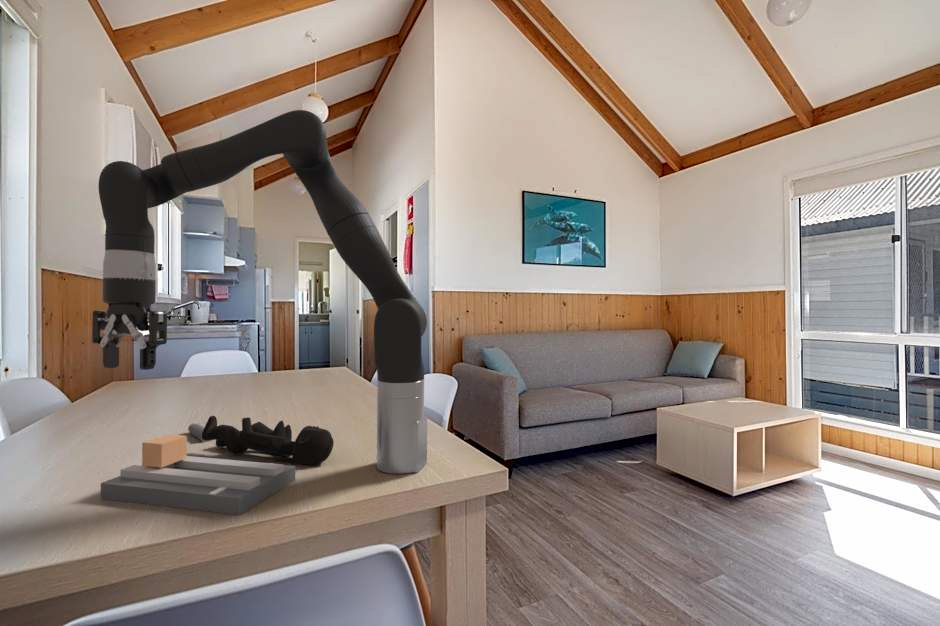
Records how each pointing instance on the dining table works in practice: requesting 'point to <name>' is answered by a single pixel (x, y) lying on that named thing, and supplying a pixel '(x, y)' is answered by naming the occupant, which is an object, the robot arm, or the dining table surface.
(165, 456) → the block
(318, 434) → the figurine
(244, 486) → the twin slider track
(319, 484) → the dining table surface
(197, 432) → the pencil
